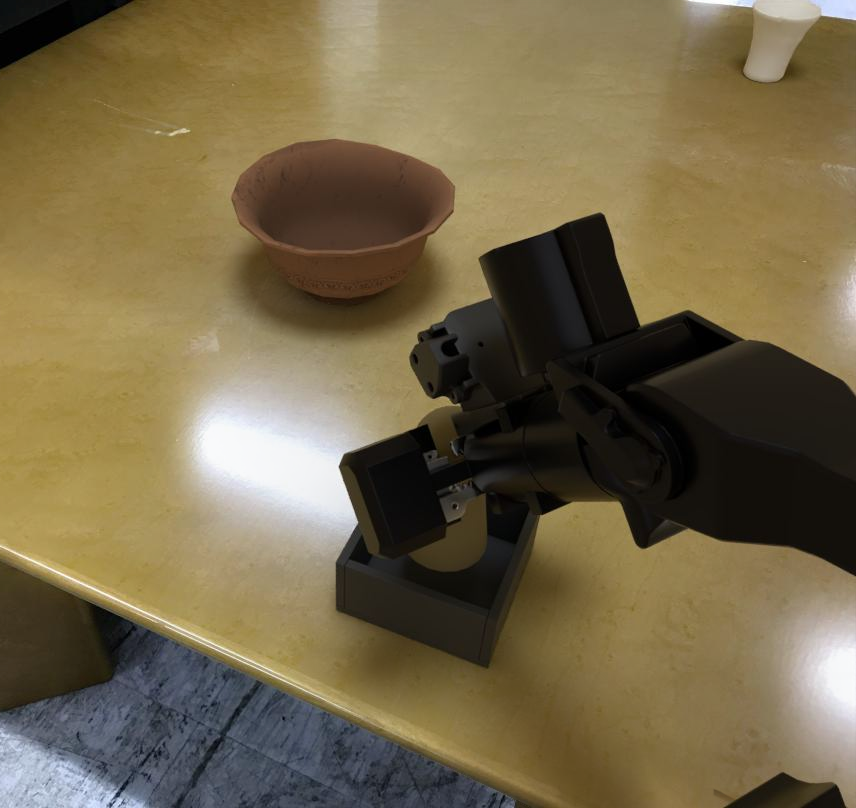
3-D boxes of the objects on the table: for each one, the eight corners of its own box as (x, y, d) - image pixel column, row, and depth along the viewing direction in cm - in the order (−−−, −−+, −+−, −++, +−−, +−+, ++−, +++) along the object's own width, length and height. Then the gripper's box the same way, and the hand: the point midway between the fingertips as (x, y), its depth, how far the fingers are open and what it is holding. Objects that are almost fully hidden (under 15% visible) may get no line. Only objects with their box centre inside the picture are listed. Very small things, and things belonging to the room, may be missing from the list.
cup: (725, 81, 130) (747, 10, 123) (740, 59, 135) (761, -11, 129) (790, 94, 126) (816, 21, 119) (803, 70, 132) (828, 0, 125)
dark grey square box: (532, 548, 69) (544, 499, 65) (487, 669, 61) (497, 622, 57) (394, 501, 72) (397, 452, 69) (335, 609, 65) (335, 562, 61)
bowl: (385, 208, 106) (388, 120, 98) (489, 308, 91) (502, 213, 84) (209, 256, 99) (198, 165, 92) (291, 372, 84) (286, 275, 77)
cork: (487, 576, 61) (506, 462, 53) (397, 567, 61) (404, 454, 54) (487, 508, 65) (505, 395, 58) (403, 501, 66) (410, 388, 58)
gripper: (664, 244, 48) (515, 305, 63) (355, 347, 42) (272, 388, 57) (733, 441, 48) (568, 456, 63) (434, 572, 42) (330, 554, 57)
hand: (440, 459), depth 60 cm, fingers closed on cork, 5 cm apart
